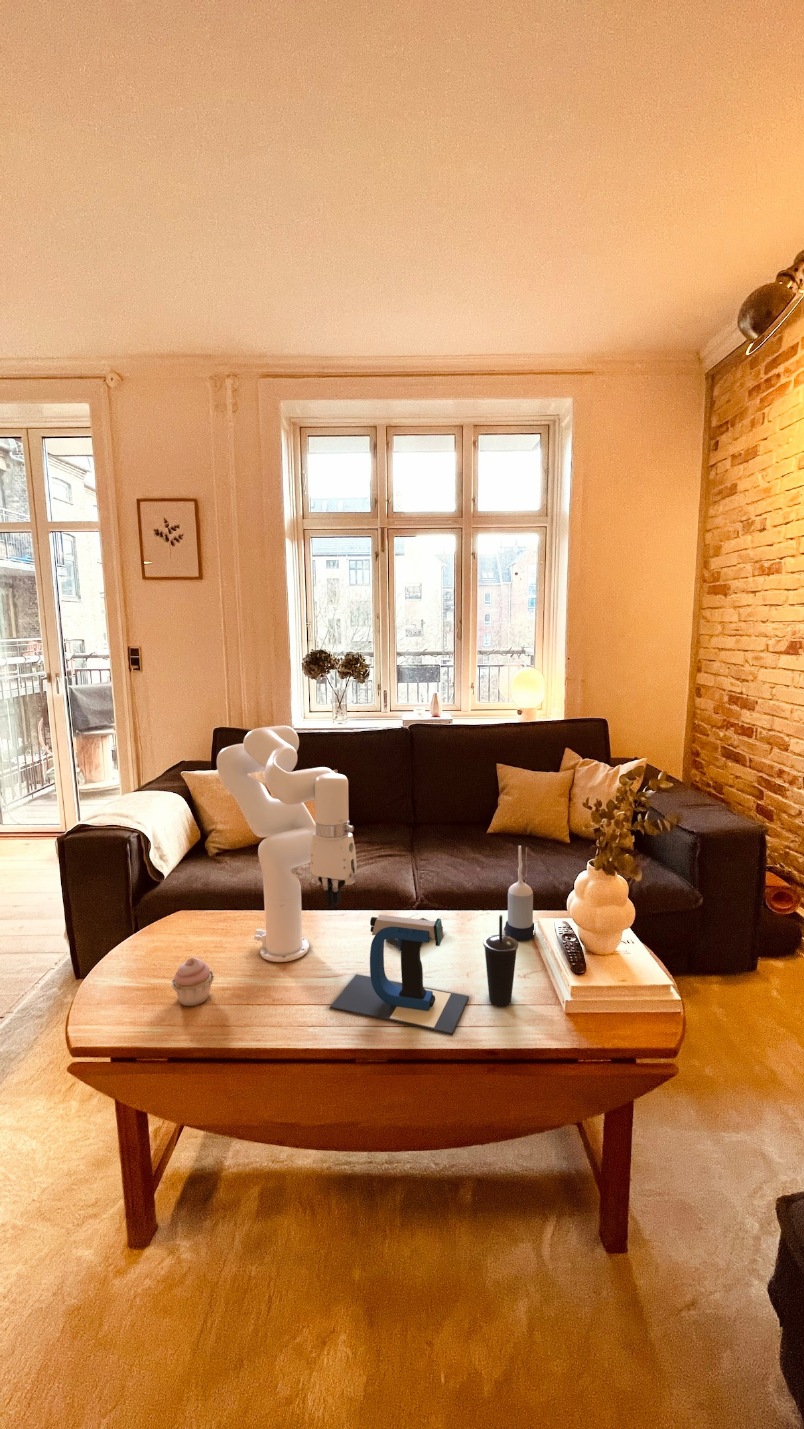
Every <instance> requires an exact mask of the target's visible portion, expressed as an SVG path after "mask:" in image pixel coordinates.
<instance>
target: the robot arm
mask: <svg viewBox="0 0 804 1429" xmlns="http://www.w3.org/2000/svg"><path fill="white" fill-rule="evenodd" d="M299 738H300V737H299V736H298V732H296V731H295V729H294V728H292V727H291V726H289V725H275V726H263V727H257V728H254V729H252V730H250V731H248V732H247V734H246V735H245V736H244V738H243V741H242V742H243V743H236V744H232V745H229V746H226V747H224V748H222V749H221V750H220V751H219V752H218V754H217V757H216V769H217V773H218V776H219V779H220V781H221V782H222V784H223V786H224V787H225V789H226V790H227V791H228V793H229V794H230V795H231V797H233V798H234V800H235V801H236V803H237V805H238V807H239V809H240V811H241V813H242V815H243V817H244V820H245V821H246V823H247V825H248V826H249V829H250V831H251V833H253V835H254V836H256V837H257V838H264V839H262V840H261V841H260V843H259V845H258V849H257V854H258V861H259V865H260V869H261V874H262V884H263V886H262V887H263V903H264V928H265V929H260V928H256V930H255V932H254V938H253V940H254V941H257V942H261V943H262V944H261V946H260V948H259V953H260V956H261V957H262V959H264V960H266V961H268V962H273V963H285V962H291V961H295V960H298V959H300V958H302V957H304V956H305V955H306V954H307V953H308V951H309V950H310V944H309V941H308V940H307V939H306V938H305V937H303V912H302V911H303V906H302V886H301V882H300V879H299V878H298V877H297V875H295V874H294V872H293V871H292V870H293V869H296V868H298V867H301V866H304V865H308V864H309V869H310V870H309V871H310V874H311V875H310V878H312V879H314V880H316V881H319V883H320V884H321V885H322V888H323V890H324V891H325V902H326V907H327V908H331V909H334V908H336V907H337V906H338V905H339V904H340V902H341V888H342V887H344V886H348V885H350V886H351V885H353V884H354V883H355V882H356V879H355V874H357V868H358V867H357V866H358V865H357V853H356V845H355V840H354V835H353V832H354V830H355V827H354V825H351V824H350V819H349V817H350V816H349V812H350V811H349V779H348V778H347V776H346V775H344V774H341V773H336V772H335V771H333V770H332V769H331V768H329V767H325V766H320V767H319V766H317V767H312V768H304V769H300V770H299V769H298V770H295V771H294V769H295V767H296V766H297V763H298V753H297V752H298V750H299V746H300V739H299ZM260 772H264V774H263V775H264V782H265V785H266V787H267V788H266V787H265V785H264V784H263V783H262V782H260V781H259V780H258V779H256V778H254V777H253V776H250V775H249V774H254V773H260ZM269 792H270V793H269ZM270 794H271V795H273V797H274V798H273V797H272V796H271V795H270ZM313 801H314V818H313V817H312V814H311V813H310V811H309V809H308V808H307V806H306V804H305V803H309V802H313Z"/></svg>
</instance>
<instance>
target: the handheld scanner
mask: <svg viewBox="0 0 804 1429" xmlns="http://www.w3.org/2000/svg"><path fill="white" fill-rule="evenodd" d="M420 919H421V918H411V917H401V916H394V915H386V914H379V915H378V916H377V917H376V916H371V917H370V920H369V924H370V933H371V936H373V938H372V941H371V944H370V952H369V977H371V983H372V986H373V989H374V991H375V992H376V994H377V995H378V996H379V997H380V998H381V999H382V1000H383V1001H384V1002H386V1003H388V1004H390V1005H392V1006H397V1007H404V1008H411V1009H418V1010H424V1011H429V1009H430V1007H432V1006H433V1005H434V1002H435V995H433V991H428V990H425V989H424V988H423V987H424V978H423V977H424V972H423V963H422V960H421V948H422V946H423V943H427V944H428V943H430V941H431V940H433V941H434V942H435V946H436V947H440V946H441V943H442V942H443V938H444V929H443V930H442V927H443V923H442V919H441V918H438V917H437V918H436V920H429V919H427V920H420ZM428 920H429V921H428ZM389 938H394V939H398V943H399V948H398V950H399V952H400V971H401V983H402V987H400V986H396V985H394V984H392V983H391V982H390V981H391V980H389V979H388V977H387V975H386V971H385V954H384V953H385V941H386V939H389ZM430 938H432V939H430ZM422 942H423V943H422Z"/></svg>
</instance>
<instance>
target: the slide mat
mask: <svg viewBox="0 0 804 1429" xmlns="http://www.w3.org/2000/svg"><path fill="white" fill-rule="evenodd" d="M389 981H390V982H391V983H392V984H394V985H396V986H400V987H402V982H400V981H393V980H389ZM423 988H424V989H425V990H428V991H433V995H435V1002H434V1005H433V1006H432V1007H430V1009H429V1011H424V1010H418V1009H411V1008H404V1007H397V1006H392V1005H390V1004H388V1003H386V1002H384V1001H383V1000H382V999H381V998H380V997H379V996H378V995H377V994H376V992H375V991H374V989H373V986H372V983H371V976H367V975H363V974H357V973H356V974H354V976H353V977H352V979H351V980H350V981H349V982H348V984H347V985H346V986H345V987H344V988H343V990H342V991H341V992H340V994H339V995H338V996H337V997H336V998H335V999H334V1001H333V1002H332V1003H331V1004H330V1006H329V1009H332V1010H337V1011H341V1012H346V1013H351V1014H355V1015H360V1016H364V1017H370V1018H374V1019H378V1020H382V1021H387V1022H392V1023H395V1024H401V1025H404V1026H405V1025H406V1026H410V1027H415V1028H421V1029H424V1030H429V1031H433V1032H438V1033H443V1034H446V1035H453V1034H454V1031H455V1029H456V1027H457V1025H458V1022H459V1021H460V1019H461V1016H462V1013H463V1012H464V1009H465V1008H466V1004H467V1002H468V1000H469V998H470V996H469V995H467V994H462V993H455V992H452V991H447V990H442V989H441V990H440V989H435V988H431V987H425V986H423Z"/></svg>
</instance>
